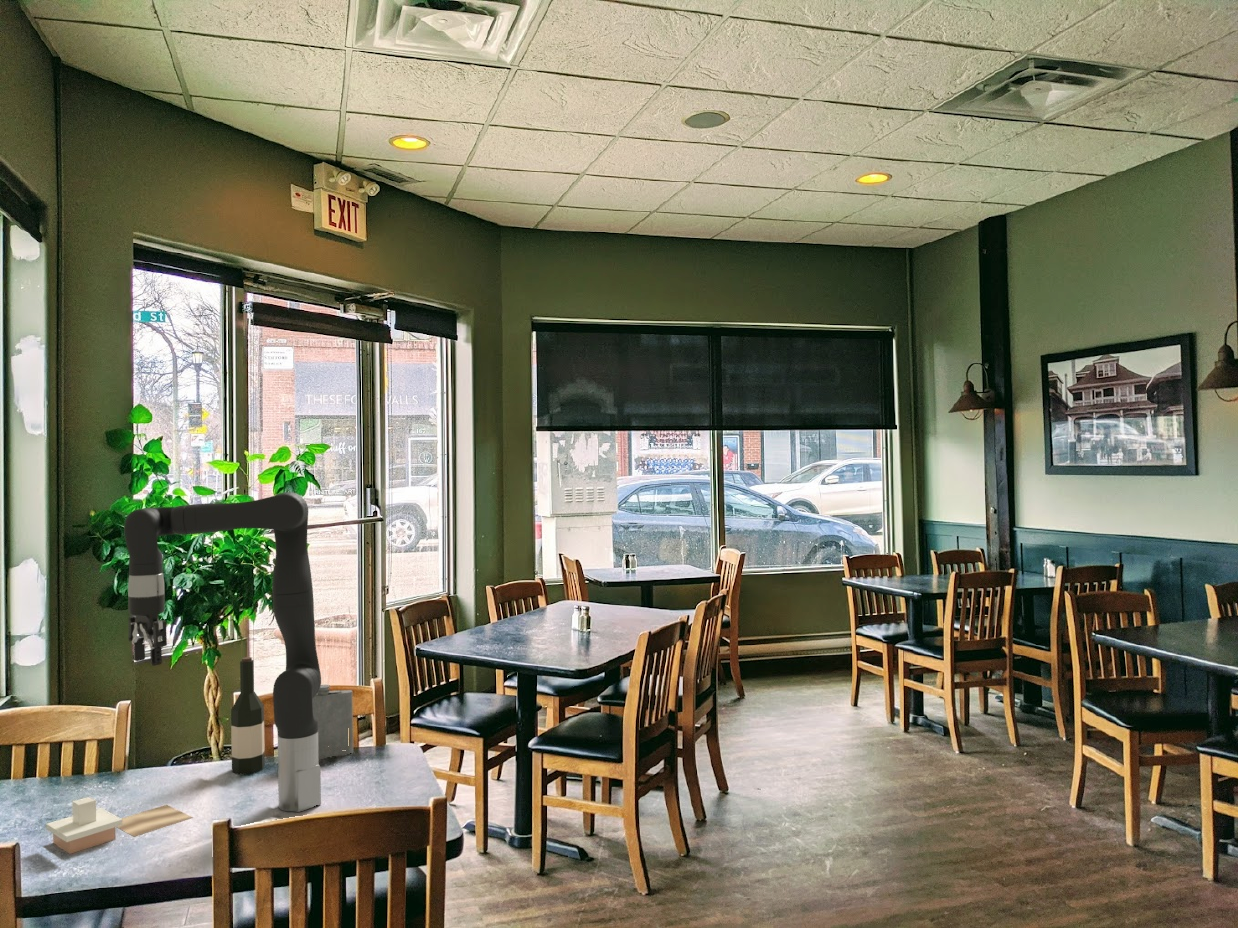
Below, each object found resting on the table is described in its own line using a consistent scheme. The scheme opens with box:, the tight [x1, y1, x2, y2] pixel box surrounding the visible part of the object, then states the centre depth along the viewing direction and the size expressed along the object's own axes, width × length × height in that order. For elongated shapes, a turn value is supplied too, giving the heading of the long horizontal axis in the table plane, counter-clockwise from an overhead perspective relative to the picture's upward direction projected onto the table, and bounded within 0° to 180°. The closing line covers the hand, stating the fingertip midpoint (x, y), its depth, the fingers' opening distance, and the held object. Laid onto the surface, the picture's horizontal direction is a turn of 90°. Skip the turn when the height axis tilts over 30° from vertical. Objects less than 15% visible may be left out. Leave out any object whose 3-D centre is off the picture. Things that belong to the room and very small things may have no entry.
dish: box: [52, 827, 117, 855], centre depth 193 cm, size 9×9×4 cm
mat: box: [116, 804, 194, 838], centre depth 204 cm, size 13×13×1 cm
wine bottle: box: [230, 656, 266, 775], centre depth 241 cm, size 8×8×30 cm
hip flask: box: [312, 684, 354, 761], centre depth 250 cm, size 16×4×20 cm, turn 124°
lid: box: [45, 796, 123, 842], centre depth 193 cm, size 11×11×6 cm
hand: (147, 662), depth 209 cm, fingers open, 8 cm apart
